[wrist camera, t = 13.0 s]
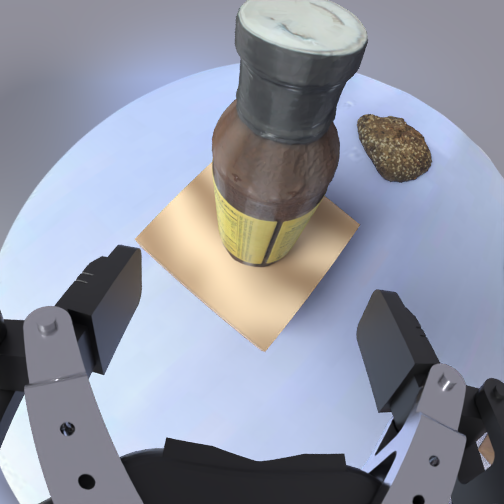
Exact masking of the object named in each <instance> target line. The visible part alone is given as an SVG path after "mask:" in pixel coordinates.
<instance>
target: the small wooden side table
mask: <svg viewBox="0 0 504 504" xmlns="http://www.w3.org/2000/svg"><path fill="white" fill-rule="evenodd" d="M359 226H360V224H359V223H357V222H356V221H355V220H354V219H353V218H351V217H350V216H349V215H348V214H346V213H345V212H344V211H343V210H342V209H340V208H339V207H338V206H337V205H335V204H334V203H333V202H332V201H330V200H329V199H328V198H327V197H325V196H324V197H323V199H322V201H321V202H320V204H319V206H318V207H317V209H316V211H315V212H314V214H313V215H312V217H311V218H310V220H309V222H308V223H307V225H306V226H305V228H304V230H303V231H302V233H301V235H300V236H299V238H298V239H297V241H296V243H295V244H294V246H293V247H292V249H291V250H290V251H289V252H288V253H287V254H286V255H285V256H284V257H283V258H281V259H280V260H279V261H277V262H275V263H273V264H271V265H270V266H267V267H252V266H247V265H244V264H241V263H239V262H238V261H235V260H234V259H233V258H232V257H231V256H230V254H229V253H228V252H227V250H226V249H225V247H224V245H223V242H222V240H221V237H220V234H219V230H218V220H217V211H216V201H215V192H214V184H213V175H212V163H210V164H209V165H208V166H207V167H206V168H205V169H204V170H203V171H202V172H201V173H200V174H199V175H198V176H197V177H196V178H195V179H194V180H193V181H191V182H190V183H189V184H188V185H187V186H186V187H185V188H184V189H183V190H182V191H181V192H180V193H179V194H178V195H177V196H176V197H175V198H174V199H173V200H172V201H171V202H170V203H169V204H168V205H167V206H166V207H165V208H164V209H163V210H162V211H161V212H160V213H159V214H158V215H157V216H156V217H155V218H154V219H153V221H152V222H151V223H150V224H149V225H148V226H147V227H146V228H145V229H144V230H143V231H142V232H141V233H140V234H139V235H138V236H137V237H136V238H135V240H136V241H137V243H138V244H139V245H140V246H141V247H142V248H143V249H144V250H145V251H146V252H147V253H148V254H149V255H150V256H151V257H152V258H154V259H155V260H156V261H157V262H158V263H159V264H160V265H161V266H162V267H163V268H164V269H166V270H167V271H168V272H169V273H170V274H171V275H172V276H173V277H174V278H176V279H177V280H178V281H179V282H180V283H181V284H182V285H183V286H185V287H186V288H187V289H188V290H189V291H190V292H191V293H193V294H194V295H195V296H196V297H197V298H198V299H200V300H201V301H202V302H203V303H204V304H205V305H207V306H208V307H209V308H210V309H211V310H212V311H214V312H215V313H216V314H217V315H218V316H219V317H221V318H222V319H223V320H224V321H225V322H227V323H228V324H229V325H230V326H232V327H233V328H234V329H235V330H236V331H238V332H239V333H240V334H241V335H242V336H244V337H245V338H246V339H247V340H249V341H250V342H251V343H252V344H254V345H255V346H256V347H257V348H259V349H260V350H261V351H264V352H265V351H266V350H267V349H268V347H269V346H270V345H271V344H272V343H273V341H274V340H275V339H276V338H277V336H278V335H279V334H280V333H281V331H282V330H283V329H284V328H285V326H286V325H287V324H288V322H289V321H290V320H291V319H292V317H293V316H294V315H295V314H296V312H297V311H298V310H299V308H300V307H301V306H302V304H303V303H304V302H305V301H306V299H307V298H308V297H309V295H310V294H311V293H312V291H313V290H314V289H315V287H316V286H317V285H318V283H319V282H320V281H321V279H322V278H323V276H324V275H325V274H326V272H327V271H328V270H329V268H330V267H331V266H332V264H333V263H334V261H335V260H336V259H337V257H338V256H339V254H340V253H341V252H342V250H343V249H344V247H345V246H346V245H347V243H348V242H349V240H350V239H351V237H352V236H353V235H354V233H355V232H356V230H357V229H358V227H359Z"/></svg>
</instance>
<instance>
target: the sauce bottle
mask: <svg viewBox="0 0 504 504" xmlns="http://www.w3.org/2000/svg"><path fill="white" fill-rule="evenodd" d="M367 43H368V36H367V31H366V29H365V28H364V27H363V24H362V23H361V22H360V21H359V20H358V18H357V17H356V16H355V15H353V14H352V13H351V12H349V11H348V10H346V9H345V8H343V7H341V6H339V5H337V4H335V3H334V2H331V1H328V0H247V1H246V2H245V3H244V4H243V5H242V6H241V7H240V8H239V11H238V13H237V16H236V29H235V46H236V50H237V53H238V54H239V56H240V58H241V60H240V75H239V86H238V89H237V93H236V100H234V101H233V102H232V103H231V104H230V106H229V107H228V108H227V109H226V110H225V111H224V112H223V114H222V115H221V117H220V119H219V120H218V122H217V125H216V127H215V129H214V132H213V137H212V153H213V161H212V175H213V184H214V192H215V201H216V211H217V220H218V230H219V234H220V237H221V240H222V242H223V245H224V247H225V249H226V250H227V252H228V253H229V254H230V256H231V257H232V258H233V259H234V260H235V261H238V262H239V263H241V264H244V265H247V266H252V267H267V266H270V265H271V264H273V263H275V262H277V261H279V260H280V259H281V258H283V257H284V256H285V255H286V254H287V253H288V252H289V251H290V250H291V249H292V247H293V246H294V244H295V243H296V241H297V239H298V238H299V236H300V235H301V233H302V231H303V230H304V228H305V226H306V225H307V223H308V222H309V220H310V218H311V217H312V215H313V214H314V212H315V211H316V209H317V207H318V206H319V204H320V202H321V201H322V199H323V197H324V195H325V193H326V191H327V188H328V185H329V183H330V182H331V181H332V178H333V177H334V174H335V171H336V169H337V166H338V162H339V154H340V151H339V150H340V142H339V137H338V132H337V129H336V127H335V125H334V123H333V120H334V119H335V115H336V106H337V103H338V101H339V98H340V95H341V93H342V90H343V88H344V86H345V84H346V82H347V81H348V80H349V79H350V78H351V77H353V76H354V74H355V73H356V72H357V70H358V69H359V67H360V64H361V61H362V58H363V55H364V52H365V48H366V46H367Z"/></svg>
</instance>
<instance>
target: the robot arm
mask: <svg viewBox="0 0 504 504" xmlns="http://www.w3.org/2000/svg"><path fill="white" fill-rule="evenodd" d="M141 257H142V256H141V250H140V249H139V248H135V247H129V246H124V245H118V246H117V247H116V248H115V249H114V250H113V251H112V252H111V254H110V255H109V256H108V257H103V256H102V257H100V258H98V259H96V260H94V261H93V262H91V263H90V264H89V265H88V266H87V267H86V268H85V269H84V271H83V272H82V274H80V275H79V276H78V278H77V279H76V281H74V282H73V284H72V285H71V286H70V287H69V288H68V290H67V291H66V292H65V293H64V295H63V296H62V297H61V298H60V300H59V301H58V302H57V303H56V305H55V306H46V307H41V308H39V309H36V310H34V311H33V312H31V313H30V314H29V315H28V316H27V318H26V319H25V320H8V319H3V317H2V314H1V311H0V448H1V445H2V443H3V440H4V438H5V436H6V433H7V431H8V428H9V426H10V424H11V422H12V419H13V417H14V415H15V413H16V411H17V408H18V406H19V404H20V402H21V400H22V398H23V396H24V394H25V399H26V405H27V411H28V416H29V421H30V425H31V430H32V434H33V439H34V443H35V447H36V450H37V454H38V458H39V461H40V465H41V468H42V471H43V475H44V478H45V481H46V484H47V487H48V490H49V493H50V495H51V497H50V498H49V499H47V500H45V501H43V502H41V503H39V504H448V503H449V500H450V497H451V499H452V504H504V383H502V382H501V381H499V380H497V379H494V378H489V379H487V380H486V381H485V382H484V384H483V385H482V386H481V387H480V388H479V389H478V388H475V387H471V386H467V385H466V384H465V381H464V379H463V377H462V376H461V374H460V373H459V372H458V371H457V370H456V369H454V368H453V367H451V366H449V365H446V364H440V362H439V360H438V358H437V356H436V354H435V352H434V350H433V348H432V346H431V344H430V343H429V341H428V339H427V337H425V336H426V335H425V333H424V331H423V329H421V326H420V324H419V322H418V320H417V319H416V317H415V316H414V315H413V314H412V313H411V312H410V311H409V310H408V309H407V308H406V307H405V306H404V304H403V303H402V301H401V299H400V297H399V296H398V294H397V293H396V292H391V291H384V290H375V291H374V292H373V294H372V296H371V298H370V300H369V302H368V305H367V307H366V309H365V311H364V313H363V315H362V317H361V320H360V322H359V324H358V328H357V341H358V345H359V348H360V351H361V354H362V357H363V361H364V364H365V367H366V371H367V374H368V377H369V381H370V384H371V388H372V391H373V395H374V398H375V402H376V406H377V409H378V413H382V412H392V415H393V417H392V418H391V419H390V420H389V422H388V423H387V425H386V427H385V429H384V431H383V433H382V435H381V437H380V439H379V441H378V443H377V444H376V446H375V448H374V450H373V452H372V453H371V455H370V457H369V459H368V460H367V462H366V463H365V464H364V466H363V467H362V468H361V469H358V468H355V467H351V466H348V465H346V461H345V455H344V454H301V455H296V456H291V457H286V458H280V459H275V460H268V461H254V460H251V459H248V458H245V457H242V456H239V455H236V454H233V453H230V452H227V451H224V450H222V449H219V448H216V447H214V446H209V445H203V444H197V443H192V442H186V441H181V440H176V439H171V438H167V437H166V442H165V446H164V448H154V449H145V450H140V451H135V452H132V453H129V454H126V455H124V456H122V457H119V455H118V453H117V451H116V449H115V447H114V444H113V442H112V440H111V437H110V435H109V433H108V430H107V428H106V426H105V423H104V421H103V418H102V416H101V413H100V410H99V408H98V405H97V402H96V400H95V397H94V394H93V391H92V388H91V385H90V382H89V377H90V375H91V373H92V372H95V373H98V374H102V375H104V374H105V372H106V370H107V368H108V365H109V363H110V361H111V359H112V357H113V355H114V353H115V351H116V348H117V346H118V344H119V342H120V340H121V338H122V336H123V334H124V332H125V330H126V328H127V326H128V324H129V322H130V320H131V318H132V316H133V314H134V312H135V310H136V308H137V306H138V304H139V301H140V297H141V291H142V268H141ZM486 432H487V433H488V436H489V439H490V442H491V445H492V447H493V450H494V461H493V463H492V465H491V466H490V467H489V468H488V469H486V470H484V466H483V463H482V460H481V456H480V453H479V450H478V447H477V444H476V441H477V440H478V439H479V438H480V437H481V436H483V435H484V434H485V433H486Z"/></svg>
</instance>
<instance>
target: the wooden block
mask: <svg viewBox="0 0 504 504" xmlns="http://www.w3.org/2000/svg"><path fill="white" fill-rule="evenodd" d="M478 450H479V452H480V453H481V454H482V455H483V456H484V457H485V458H486V460H487V461H488V462H489V463H490V464H491V465H492V463H493V461H494V450H493V447H492V445H491V442H490V439H489V436H488V434H487V436H486V438H485V439H484V441H483V442H482V444H481V445H480V447H479V449H478Z"/></svg>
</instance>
